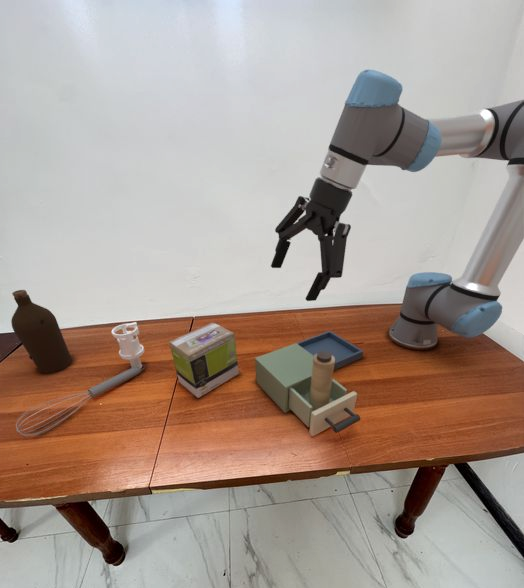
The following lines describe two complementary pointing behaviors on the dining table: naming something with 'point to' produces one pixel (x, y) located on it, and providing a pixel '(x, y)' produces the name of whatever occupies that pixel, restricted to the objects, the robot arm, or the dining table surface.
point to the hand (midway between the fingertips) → (292, 282)
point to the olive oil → (40, 334)
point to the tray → (333, 348)
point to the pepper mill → (321, 379)
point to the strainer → (129, 344)
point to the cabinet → (283, 372)
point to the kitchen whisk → (92, 391)
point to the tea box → (205, 358)
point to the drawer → (323, 408)
